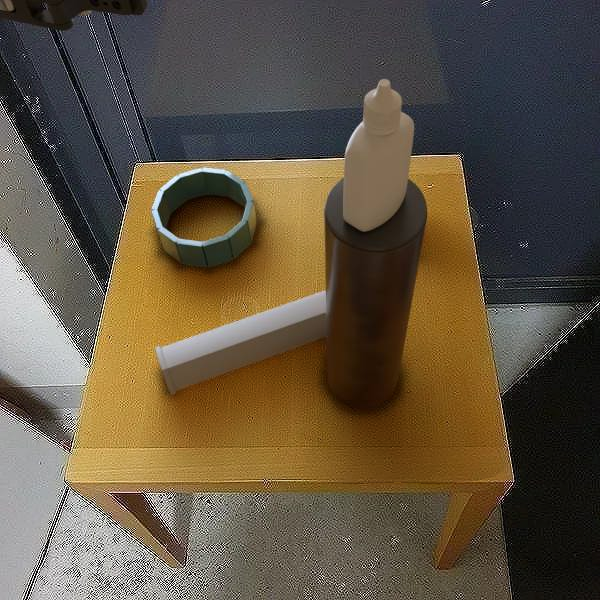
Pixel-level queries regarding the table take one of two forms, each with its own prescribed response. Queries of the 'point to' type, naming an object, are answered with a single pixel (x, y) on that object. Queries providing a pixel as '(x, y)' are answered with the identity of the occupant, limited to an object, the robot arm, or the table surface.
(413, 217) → the stand
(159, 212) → the teal segmented ring
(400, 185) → the eye dropper bottle
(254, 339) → the tube
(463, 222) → the table surface
